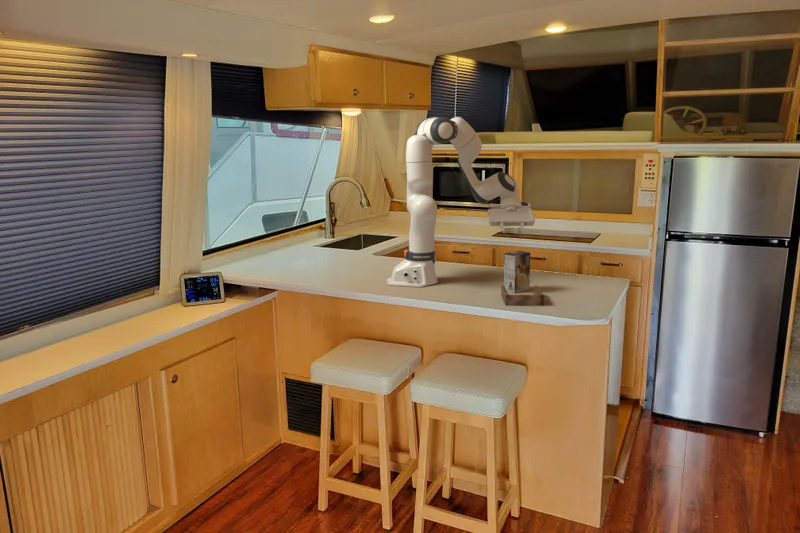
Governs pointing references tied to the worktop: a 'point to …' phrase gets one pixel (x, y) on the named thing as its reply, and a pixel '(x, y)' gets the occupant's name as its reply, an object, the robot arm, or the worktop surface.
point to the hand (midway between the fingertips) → (512, 232)
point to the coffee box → (517, 271)
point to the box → (523, 298)
